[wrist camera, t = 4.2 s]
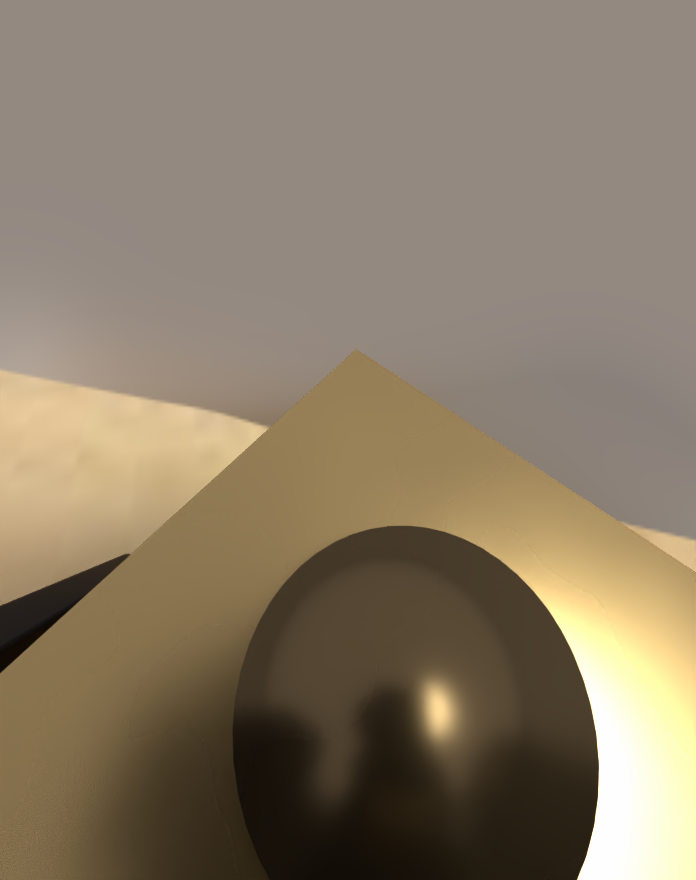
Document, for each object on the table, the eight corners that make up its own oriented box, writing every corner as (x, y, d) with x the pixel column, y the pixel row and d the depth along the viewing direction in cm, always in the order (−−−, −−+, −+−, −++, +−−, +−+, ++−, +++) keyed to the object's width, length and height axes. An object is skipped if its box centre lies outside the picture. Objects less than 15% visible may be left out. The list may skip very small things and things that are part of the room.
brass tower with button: (346, 795, 12) (665, 2216, 1) (232, 676, 13) (-144, 784, 2) (433, 650, 14) (829, 642, 3) (327, 559, 15) (358, 337, 4)
